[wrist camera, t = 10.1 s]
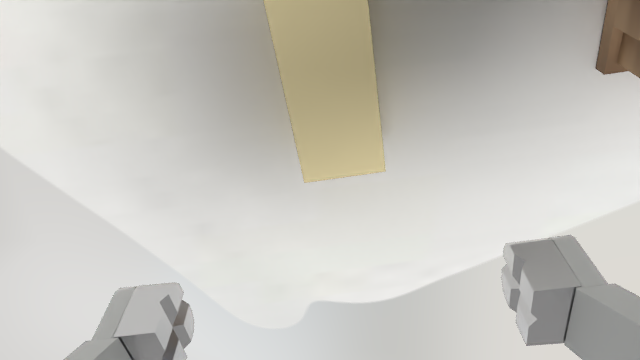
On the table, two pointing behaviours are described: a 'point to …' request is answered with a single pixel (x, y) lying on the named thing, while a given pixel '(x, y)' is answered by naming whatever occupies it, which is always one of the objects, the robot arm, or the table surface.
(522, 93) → the table surface
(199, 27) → the table surface
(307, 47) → the pale yellow block
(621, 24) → the frame
